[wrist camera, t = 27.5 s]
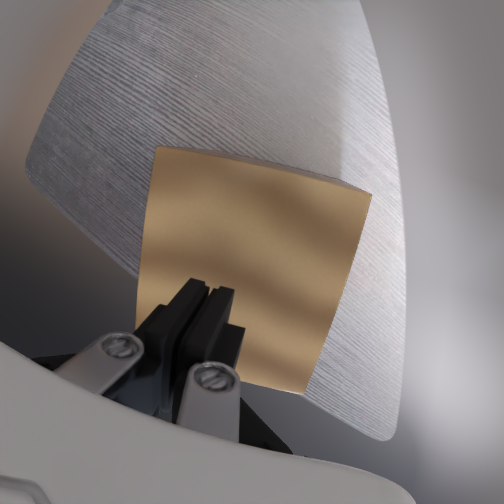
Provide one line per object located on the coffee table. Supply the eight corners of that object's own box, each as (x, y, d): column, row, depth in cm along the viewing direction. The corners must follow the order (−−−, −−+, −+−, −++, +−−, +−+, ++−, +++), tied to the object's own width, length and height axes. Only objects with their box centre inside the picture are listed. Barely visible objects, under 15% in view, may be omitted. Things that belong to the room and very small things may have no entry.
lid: (303, 388, 22) (303, 395, 21) (138, 342, 23) (134, 347, 22) (369, 192, 17) (372, 194, 17) (161, 145, 18) (155, 145, 18)
